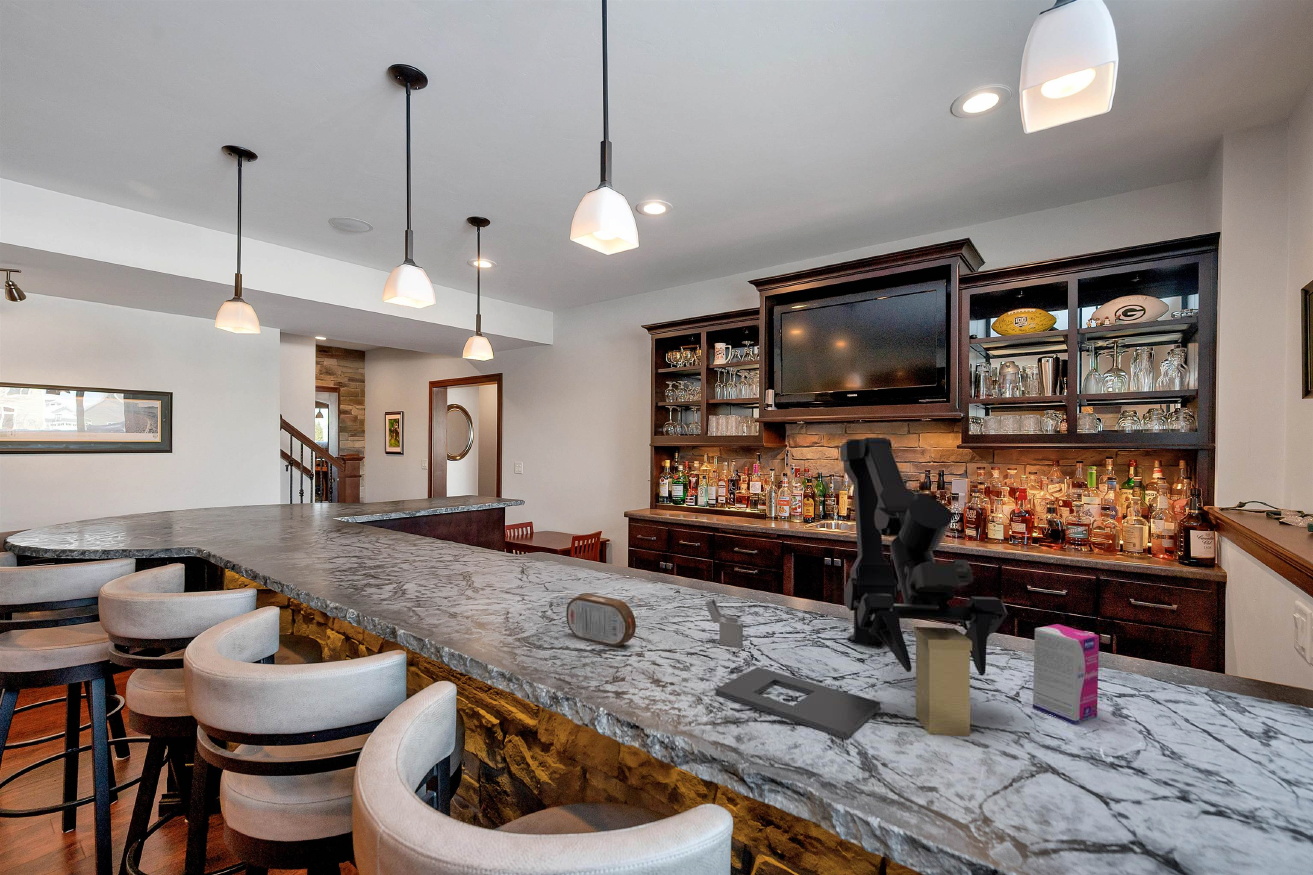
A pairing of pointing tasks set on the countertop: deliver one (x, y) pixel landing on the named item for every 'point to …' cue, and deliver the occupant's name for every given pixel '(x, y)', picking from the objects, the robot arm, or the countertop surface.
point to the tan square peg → (943, 680)
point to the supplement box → (1066, 673)
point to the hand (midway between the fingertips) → (945, 672)
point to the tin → (601, 619)
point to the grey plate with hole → (802, 702)
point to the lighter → (726, 626)
